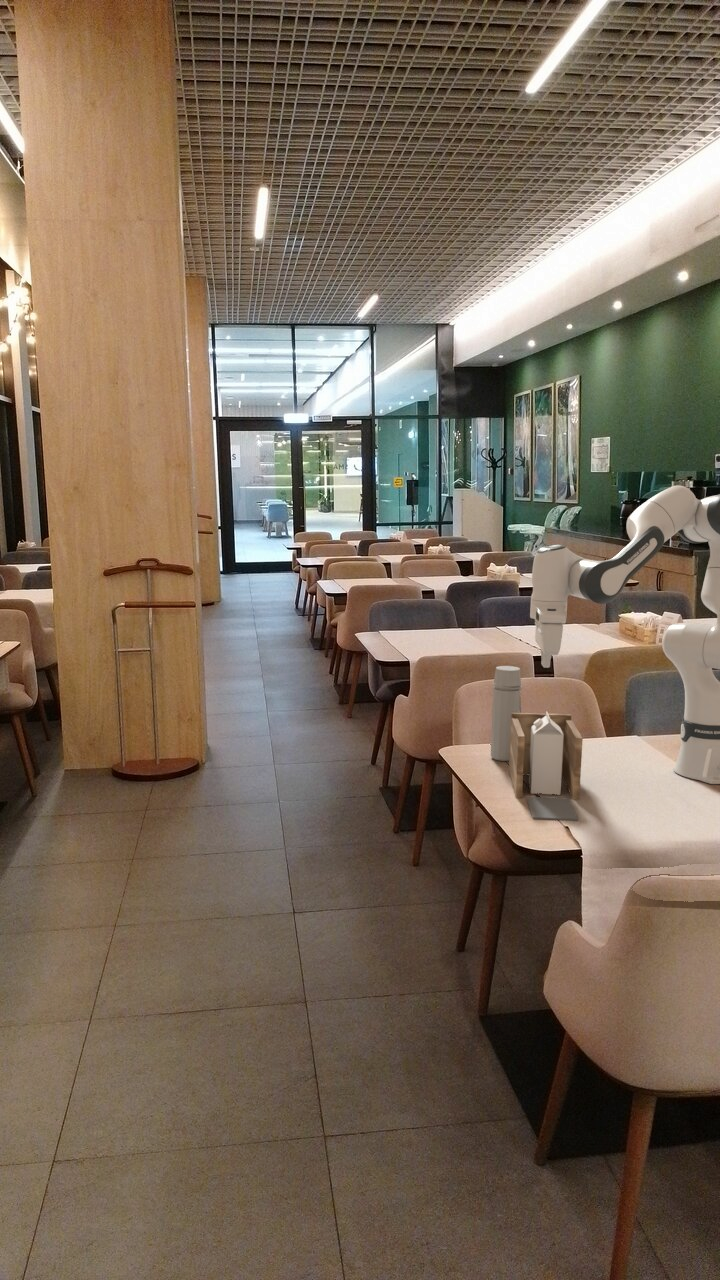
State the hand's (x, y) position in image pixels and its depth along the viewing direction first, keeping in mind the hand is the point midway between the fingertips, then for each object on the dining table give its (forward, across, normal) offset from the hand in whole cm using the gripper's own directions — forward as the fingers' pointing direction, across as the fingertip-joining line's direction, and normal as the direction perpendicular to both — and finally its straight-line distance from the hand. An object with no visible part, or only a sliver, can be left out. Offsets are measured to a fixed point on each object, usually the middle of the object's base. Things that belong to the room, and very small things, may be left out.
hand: (545, 666), depth 237 cm
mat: (+29, +22, 0) cm, 37 cm away
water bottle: (+29, -18, -7) cm, 35 cm away
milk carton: (+29, +8, 0) cm, 31 cm away
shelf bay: (+29, +5, 0) cm, 30 cm away
